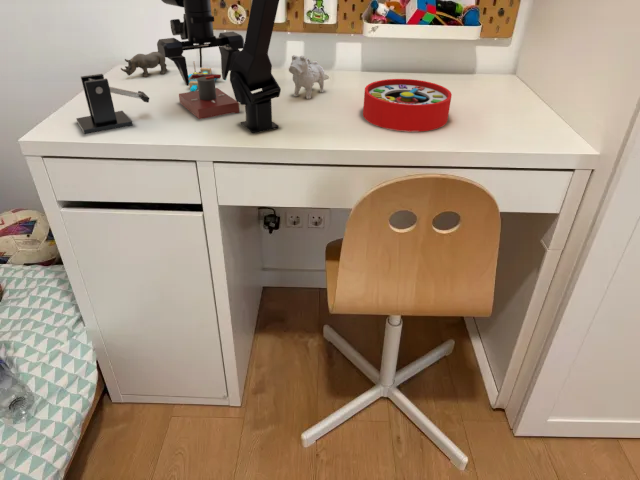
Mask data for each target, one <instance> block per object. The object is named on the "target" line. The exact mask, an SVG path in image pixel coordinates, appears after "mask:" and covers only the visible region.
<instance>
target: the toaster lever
mask: <svg viewBox="0 0 640 480" xmlns="http://www.w3.org/2000/svg"><path fill="white" fill-rule="evenodd" d="M91 80H95V79H90V78H89V80H88V81H91ZM109 88H110V92H111V94H116V95H121V96H125V97H130V98H135V99H139V100H142V102H144V103H150V97H149V96H148V95H147V94H146V93H145V92H144V91H142V90H138V91H137V92H136V91H132V90H127V89H122V88H118V87H113V86H109Z"/></svg>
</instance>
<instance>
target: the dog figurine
mask: <svg viewBox="0 0 640 480" xmlns="http://www.w3.org/2000/svg"><path fill="white" fill-rule="evenodd" d="M288 72H289V73H290V74H291V75H292V81H293V84H294V92H293V97H299V95H300V92H301V88H304V90H305V91H306V93H305V95H306V96H305V99H307V100H310V99H312V91H313V86H314V84H317V83H318V85H319V92H320V93H324V87H325V85H324V84H325V70H324V68H323V66H322V65H320V64H319V62H318V61H317V60H314V61H311V58H310V57H305V56H304V55H300V56H297V55H295V54H293V55H291V62H290V66H289V67H288Z"/></svg>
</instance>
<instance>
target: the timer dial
mask: <svg viewBox="0 0 640 480" xmlns="http://www.w3.org/2000/svg"><path fill="white" fill-rule="evenodd" d="M197 82H198V89H197V91H199V98H200V99H201V100H213V99H216V88H217V87H216V80H215V78H214V76H204V77H199V78H198V79H197Z"/></svg>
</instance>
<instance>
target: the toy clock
mask: <svg viewBox="0 0 640 480" xmlns="http://www.w3.org/2000/svg"><path fill="white" fill-rule="evenodd" d="M452 96H453V95H452V92H451V91H450V90H449V89H448V88H447V87H445V86H442V85H440V84H437V83H434V82H430V81H426V80H420V79H411V78H387V79H382V80H376V81H373V82H370V83H368V84H367V85H366V86H365V87H364V94H363V108H362V116H363V118H364V119H365V121H367V122H368V123H370V124H372V125H374V126H376V127H378V128H383V129H387V130H391V131H397V132H409V133H412V132H413V133H416V132H428V131H433V130H437V129H441V128H442V127H444V126H445V125H447V123H448V121H449V115H450V114H449V113H450V108H451V101H452Z"/></svg>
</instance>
